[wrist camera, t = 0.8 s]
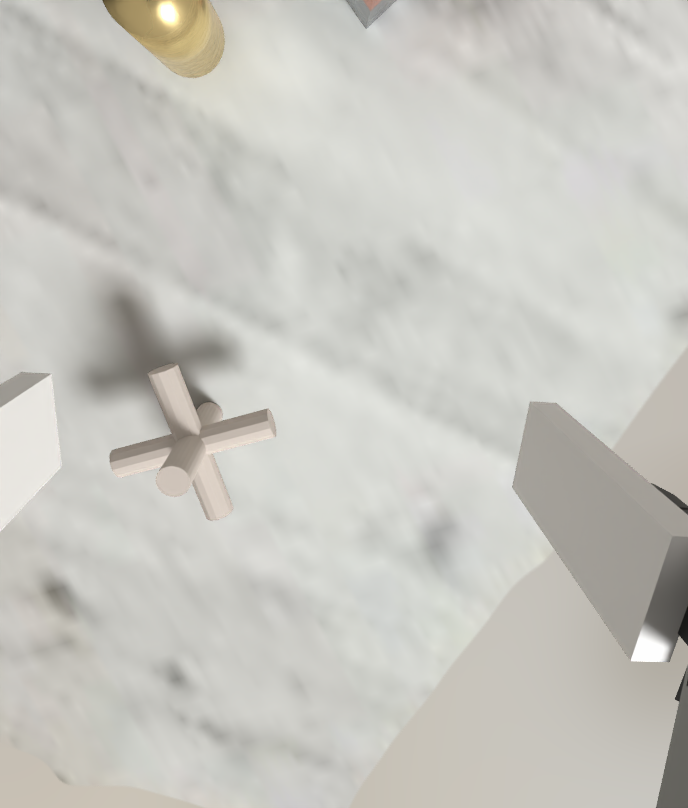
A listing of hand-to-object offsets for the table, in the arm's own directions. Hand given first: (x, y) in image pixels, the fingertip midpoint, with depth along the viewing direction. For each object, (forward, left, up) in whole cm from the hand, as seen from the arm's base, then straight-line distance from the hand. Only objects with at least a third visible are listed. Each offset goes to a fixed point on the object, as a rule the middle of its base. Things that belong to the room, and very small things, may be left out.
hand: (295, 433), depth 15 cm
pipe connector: (+1, -11, -22) cm, 25 cm away
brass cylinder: (-16, +4, -22) cm, 27 cm away
